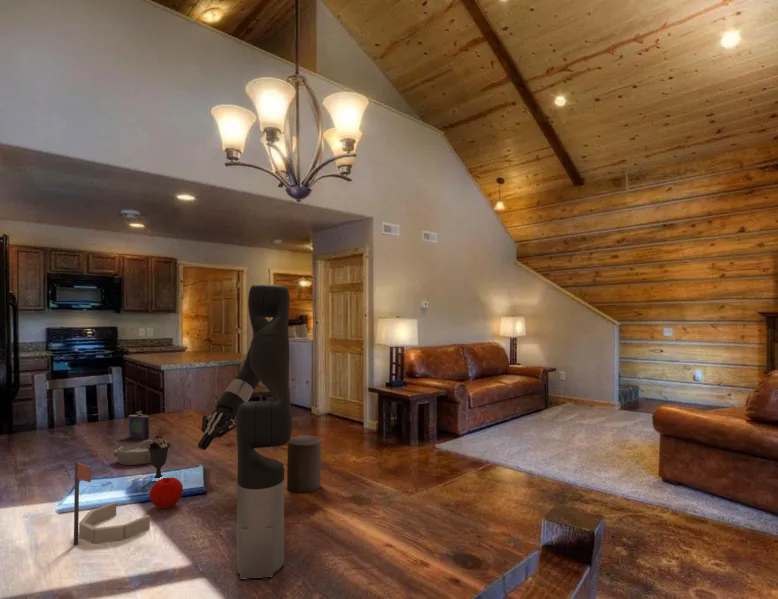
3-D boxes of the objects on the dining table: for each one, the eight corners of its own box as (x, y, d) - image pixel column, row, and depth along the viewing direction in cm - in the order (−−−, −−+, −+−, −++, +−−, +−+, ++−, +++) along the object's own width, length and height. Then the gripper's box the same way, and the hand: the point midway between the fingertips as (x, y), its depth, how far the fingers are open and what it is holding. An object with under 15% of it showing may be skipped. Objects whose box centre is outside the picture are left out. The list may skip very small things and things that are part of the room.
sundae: (164, 473, 141) (164, 425, 141) (174, 478, 137) (174, 429, 137) (142, 479, 136) (142, 430, 136) (151, 485, 132) (152, 434, 132)
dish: (107, 465, 149) (108, 450, 149) (140, 452, 162) (140, 438, 162) (144, 468, 145) (144, 453, 146) (174, 455, 159) (174, 441, 159)
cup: (114, 514, 113) (114, 442, 113) (149, 528, 106) (150, 452, 106) (56, 536, 102) (58, 457, 102) (92, 554, 94) (93, 469, 95)
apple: (152, 516, 112) (152, 487, 112) (145, 506, 118) (146, 477, 118) (186, 507, 117) (186, 479, 117) (178, 497, 123) (178, 470, 123)
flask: (126, 438, 179) (127, 411, 179) (132, 436, 182) (132, 409, 182) (145, 439, 177) (146, 412, 177) (151, 437, 180) (151, 411, 180)
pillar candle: (287, 495, 125) (288, 441, 125) (286, 481, 134) (287, 431, 134) (322, 491, 127) (323, 439, 127) (318, 479, 137) (319, 429, 137)
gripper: (213, 388, 139) (177, 437, 128) (244, 392, 132) (208, 445, 121) (227, 402, 143) (193, 451, 132) (257, 406, 137) (224, 458, 126)
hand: (201, 448), depth 127 cm, fingers closed
